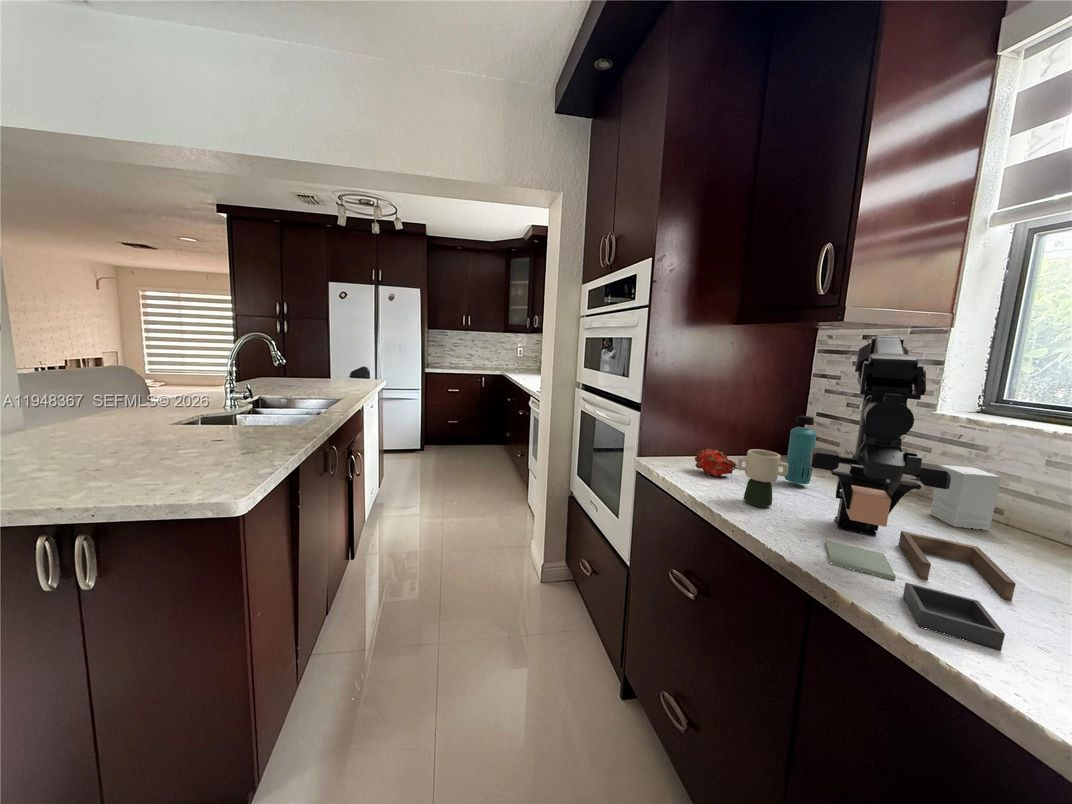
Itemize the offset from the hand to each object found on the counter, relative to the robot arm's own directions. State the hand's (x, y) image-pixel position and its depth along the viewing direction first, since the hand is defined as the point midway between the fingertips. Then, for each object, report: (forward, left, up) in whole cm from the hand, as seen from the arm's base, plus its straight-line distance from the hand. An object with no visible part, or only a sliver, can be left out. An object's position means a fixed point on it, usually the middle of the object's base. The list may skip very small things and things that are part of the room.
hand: (865, 512), depth 74 cm
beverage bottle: (-8, +43, -10) cm, 45 cm away
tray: (+8, -14, -9) cm, 19 cm away
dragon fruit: (-29, +38, -10) cm, 49 cm away
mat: (0, 0, -9) cm, 9 cm away
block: (0, 0, -1) cm, 1 cm away
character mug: (-17, +20, -10) cm, 28 cm away
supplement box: (+24, +37, -10) cm, 45 cm away
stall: (+14, +6, -9) cm, 18 cm away
